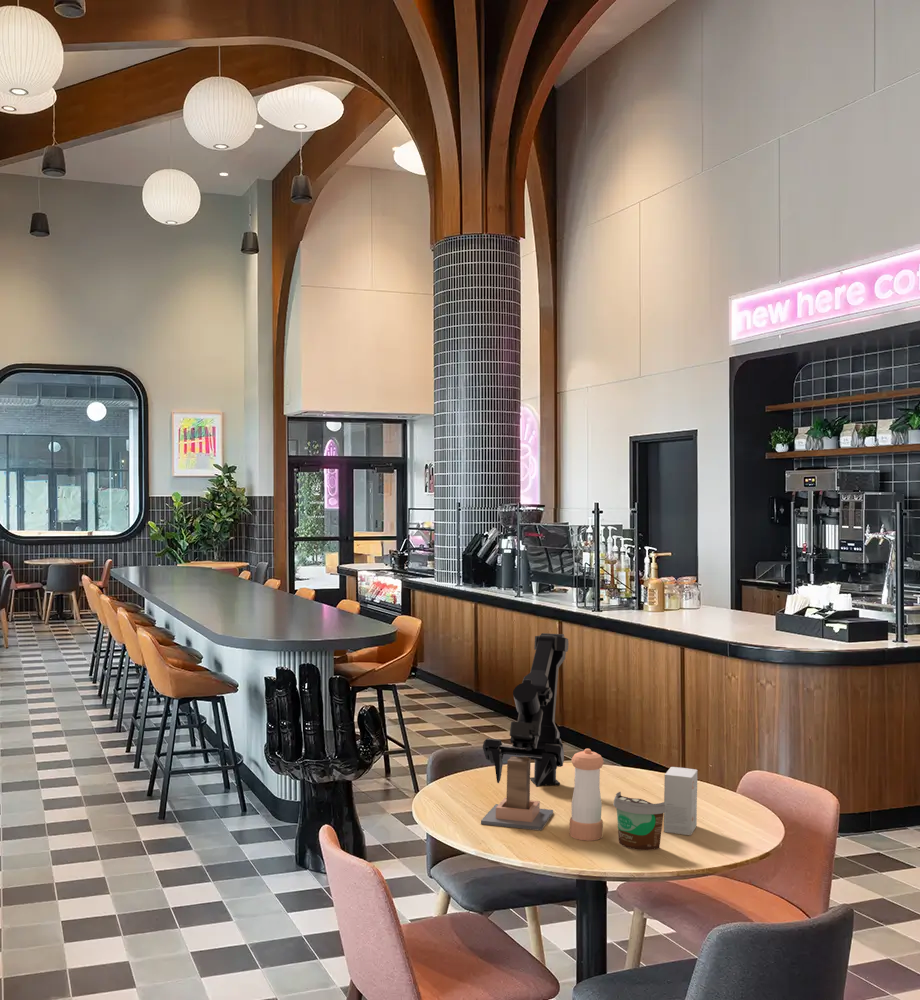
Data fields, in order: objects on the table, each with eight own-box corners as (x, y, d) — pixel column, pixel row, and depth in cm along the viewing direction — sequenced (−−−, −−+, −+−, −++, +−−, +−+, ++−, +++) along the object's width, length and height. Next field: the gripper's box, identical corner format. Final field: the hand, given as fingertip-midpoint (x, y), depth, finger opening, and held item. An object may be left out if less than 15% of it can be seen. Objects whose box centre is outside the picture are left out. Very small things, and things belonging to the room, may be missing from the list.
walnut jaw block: (510, 811, 246) (511, 756, 246) (529, 813, 245) (530, 757, 245) (506, 816, 242) (507, 760, 242) (525, 818, 241) (526, 762, 241)
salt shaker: (596, 829, 236) (598, 744, 236) (606, 840, 229) (608, 752, 229) (565, 830, 235) (567, 745, 235) (574, 841, 228) (576, 753, 228)
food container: (601, 842, 228) (602, 796, 228) (617, 836, 232) (618, 790, 232) (649, 856, 219) (650, 808, 219) (665, 849, 224) (666, 802, 224)
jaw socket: (495, 807, 252) (496, 793, 252) (553, 813, 248) (553, 799, 248) (480, 824, 239) (481, 809, 239) (541, 830, 235) (541, 815, 235)
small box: (669, 822, 243) (670, 766, 243) (697, 825, 241) (698, 769, 241) (662, 832, 236) (664, 774, 236) (691, 836, 234) (692, 777, 234)
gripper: (485, 704, 250) (472, 761, 239) (562, 710, 245) (552, 768, 234) (492, 730, 258) (480, 787, 247) (568, 737, 252) (558, 795, 242)
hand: (517, 784), depth 242 cm, fingers open, 9 cm apart
